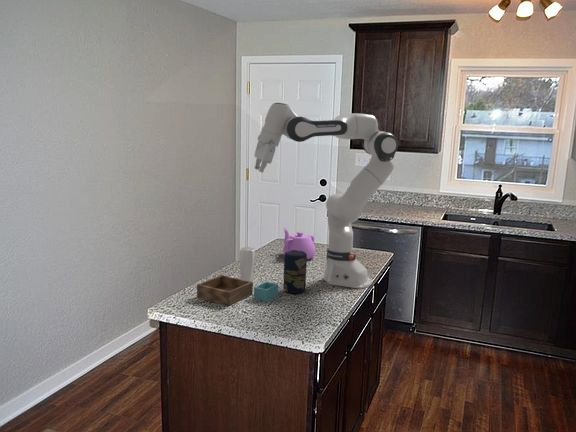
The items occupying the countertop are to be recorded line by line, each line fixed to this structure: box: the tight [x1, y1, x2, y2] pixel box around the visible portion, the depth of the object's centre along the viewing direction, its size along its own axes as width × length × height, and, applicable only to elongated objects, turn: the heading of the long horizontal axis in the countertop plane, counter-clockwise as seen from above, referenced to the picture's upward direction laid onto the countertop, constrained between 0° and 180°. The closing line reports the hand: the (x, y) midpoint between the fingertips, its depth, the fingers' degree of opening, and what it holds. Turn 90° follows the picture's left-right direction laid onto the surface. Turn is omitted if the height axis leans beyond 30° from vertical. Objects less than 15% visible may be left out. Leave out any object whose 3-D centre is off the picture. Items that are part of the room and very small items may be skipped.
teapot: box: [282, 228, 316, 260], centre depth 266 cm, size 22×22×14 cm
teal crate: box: [253, 281, 279, 303], centre depth 204 cm, size 6×9×5 cm, turn 150°
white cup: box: [238, 246, 256, 282], centre depth 222 cm, size 7×7×15 cm
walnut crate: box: [196, 274, 254, 307], centre depth 203 cm, size 16×16×6 cm
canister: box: [282, 250, 308, 294], centre depth 211 cm, size 10×10×18 cm
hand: (258, 170), depth 212 cm, fingers open, 8 cm apart
